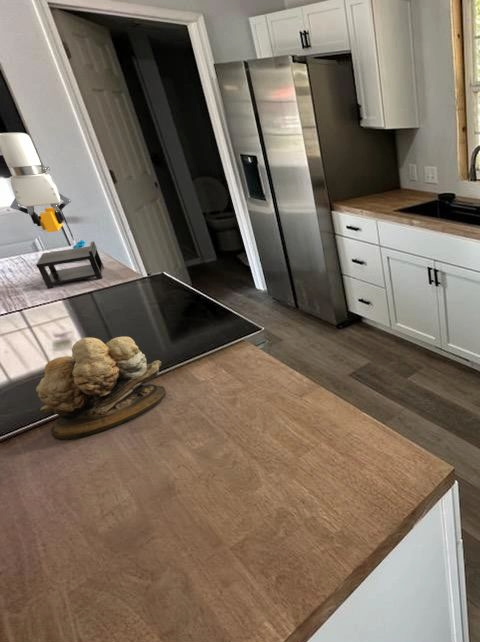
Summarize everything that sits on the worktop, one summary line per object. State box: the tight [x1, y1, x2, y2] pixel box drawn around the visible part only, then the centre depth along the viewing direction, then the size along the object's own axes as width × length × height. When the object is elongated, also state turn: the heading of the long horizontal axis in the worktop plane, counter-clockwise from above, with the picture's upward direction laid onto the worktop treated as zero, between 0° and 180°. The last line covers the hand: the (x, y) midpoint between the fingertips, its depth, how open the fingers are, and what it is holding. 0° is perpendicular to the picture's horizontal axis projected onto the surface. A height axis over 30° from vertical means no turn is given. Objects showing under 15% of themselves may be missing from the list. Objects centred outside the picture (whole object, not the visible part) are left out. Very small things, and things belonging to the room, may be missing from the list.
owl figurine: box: [35, 336, 167, 441], centre depth 79 cm, size 18×12×17 cm, turn 137°
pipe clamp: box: [39, 206, 64, 233], centre depth 144 cm, size 12×4×6 cm, turn 40°
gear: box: [72, 239, 89, 261], centre depth 169 cm, size 11×6×10 cm
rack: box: [36, 240, 105, 290], centre depth 149 cm, size 14×16×11 cm
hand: (50, 223), depth 144 cm, fingers closed on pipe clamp, 4 cm apart
